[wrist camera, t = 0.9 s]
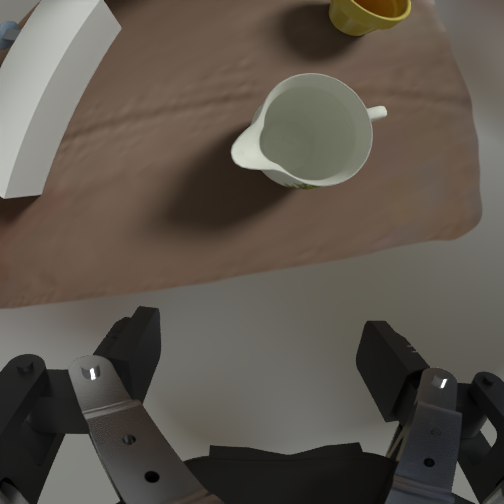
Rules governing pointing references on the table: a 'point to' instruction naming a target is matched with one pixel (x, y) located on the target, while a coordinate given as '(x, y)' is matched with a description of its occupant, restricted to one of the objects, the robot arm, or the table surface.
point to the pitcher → (308, 133)
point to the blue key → (8, 33)
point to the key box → (47, 86)
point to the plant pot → (367, 15)
